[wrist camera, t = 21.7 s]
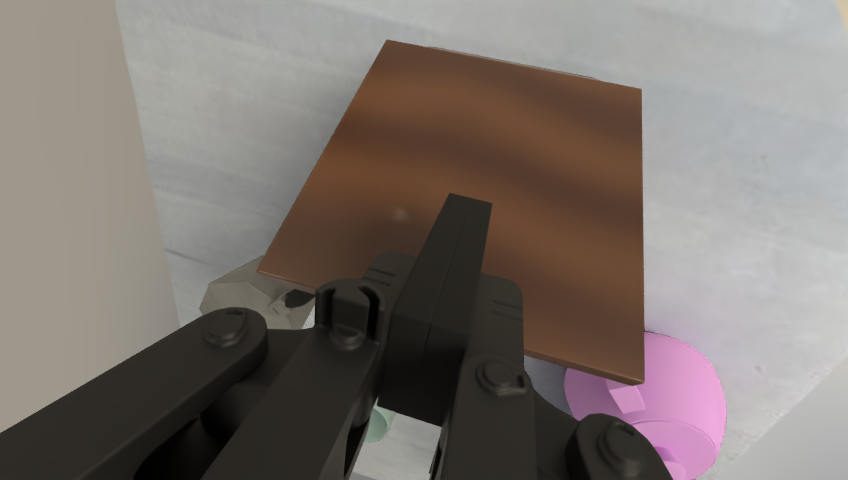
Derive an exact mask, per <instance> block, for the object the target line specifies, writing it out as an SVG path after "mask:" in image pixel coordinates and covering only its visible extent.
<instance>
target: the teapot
mask: <svg viewBox="0 0 848 480" xmlns="http://www.w3.org/2000/svg"><path fill="white" fill-rule="evenodd" d="M644 348H645V383H643V384H639V385H635V386H630V385H626V384H623V383H619V382H616V381H612V380H609V379H605V378H602V377H598V376H595V375H592V374H588V373H585V372H581V371H578V370H574V369H571V368H567V371H566V374H565V378H564V389H565V394H566V399H567V402H568V404H569V407H570V410H571V412H572V414H573V416H574V418H575V419H576V420H578V421H580V420H582V419H583V418H584V417H586V416H587V415H588V414H596V413H604V414H607V415H611V416H615V417H618V418H619V419H621V420H623V421H625V422H627V423H628V424H630V425H632V426H633V427H635V428H636V429H637V430H638V431H639V432H640V433H641V434H643V435H644V436H645V437H646V438H647V439H648V440H649V441H650V443H651V444H652V445H653V447H654V448H655V450H656V451H657V452H658V454H659V455H660V457H661V458H662V460H663V462H664V464H665V466H666V467H667V469H668V471H669V473H670V474H671V476H672V478H673V480H695V478H696V477H698V476H700V475H702V474H703V473H705V472H706V471H707V470H708V469H710V468H711V466H712V465H713V464H714V462H715V460H716V458H717V456H718V454H719V451H720V448H721V444H722V441H723V437H724V433H725V427H726V418H727V411H726V402H725V396H724V392H723V388H722V385H721V383H720V380H719V377H718V375H717V373H716V372H715V370H714V368H713V366H712V365H711V363H710V362H709V361H708V360H707V359H706V357H705V356H704V355H702V354H701V353H700V352H699V351H697V350H696V349H695V348H693V347H691V346H690V345H688V344H687V343H685V342H682V341H680V340H678V339H675V338H672V337H669V336H665V335H661V334H656V333H649V332H644Z"/></svg>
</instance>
